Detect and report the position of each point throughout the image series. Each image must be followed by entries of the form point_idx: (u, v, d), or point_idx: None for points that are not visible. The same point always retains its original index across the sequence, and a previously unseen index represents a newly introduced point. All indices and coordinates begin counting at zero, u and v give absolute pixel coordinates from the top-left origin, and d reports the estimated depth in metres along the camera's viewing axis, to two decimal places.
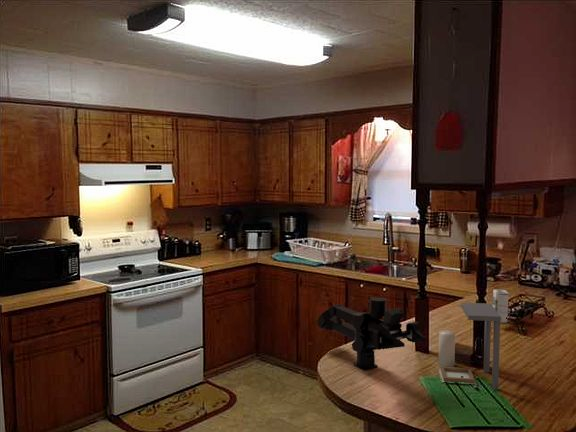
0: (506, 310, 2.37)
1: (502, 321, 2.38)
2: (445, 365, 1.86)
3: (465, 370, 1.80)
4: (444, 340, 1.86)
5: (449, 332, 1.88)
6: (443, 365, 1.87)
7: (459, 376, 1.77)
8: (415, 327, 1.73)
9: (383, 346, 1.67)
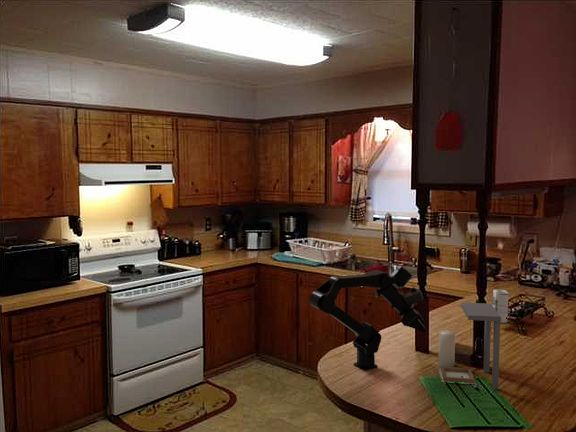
0: (506, 310, 2.37)
1: (502, 321, 2.38)
2: (445, 365, 1.86)
3: (465, 370, 1.80)
4: (443, 340, 1.86)
5: (449, 332, 1.88)
6: (443, 365, 1.87)
7: (459, 376, 1.77)
8: (416, 307, 1.94)
9: None
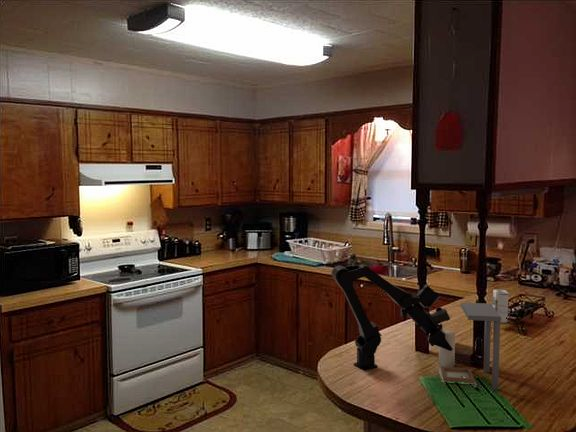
0: (506, 310, 2.37)
1: (502, 321, 2.38)
2: (445, 365, 1.86)
3: (465, 370, 1.80)
4: None
5: (449, 332, 1.88)
6: (443, 365, 1.87)
7: (459, 376, 1.77)
8: None
9: None
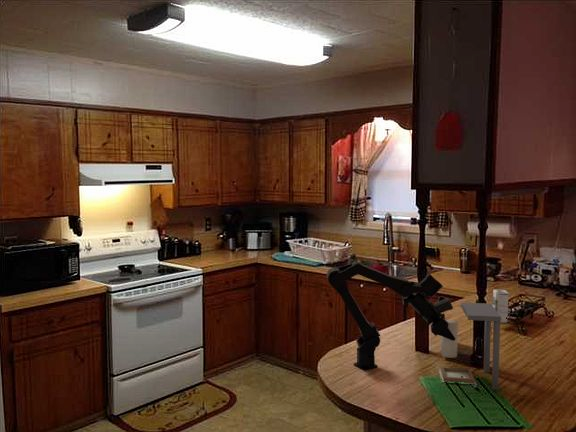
0: (506, 310, 2.37)
1: (502, 321, 2.38)
2: (448, 355, 1.83)
3: (465, 370, 1.80)
4: None
5: (452, 322, 1.84)
6: (446, 355, 1.83)
7: (459, 376, 1.77)
8: (444, 317, 1.89)
9: None
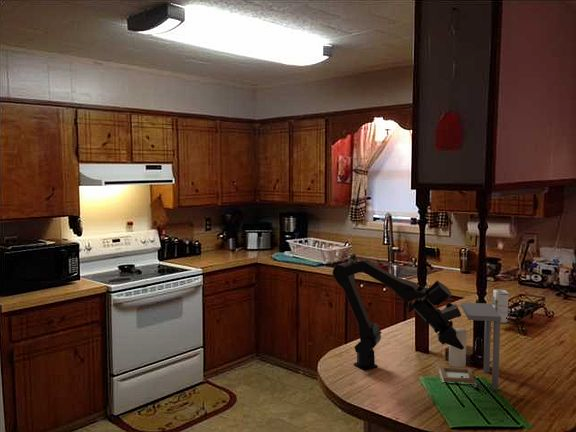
0: (506, 310, 2.37)
1: (502, 321, 2.38)
2: (456, 365, 1.74)
3: (465, 370, 1.80)
4: None
5: (460, 330, 1.75)
6: (454, 365, 1.74)
7: (459, 376, 1.77)
8: (452, 324, 1.80)
9: None
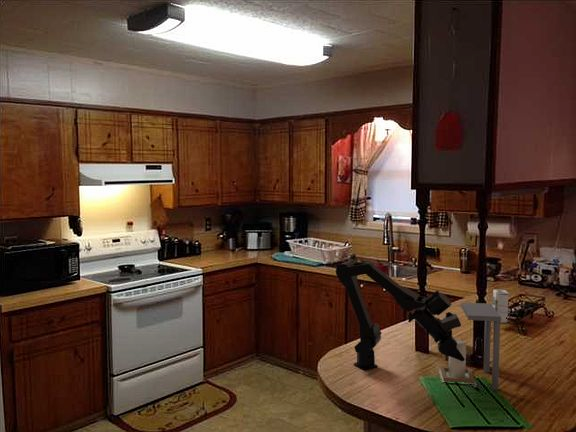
0: (506, 310, 2.37)
1: (502, 321, 2.38)
2: None
3: None
4: None
5: (460, 342, 1.76)
6: None
7: None
8: (451, 332, 1.82)
9: None
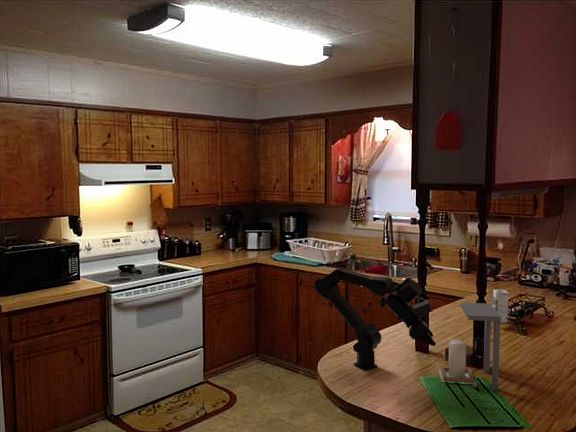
0: (506, 310, 2.37)
1: (502, 321, 2.38)
2: None
3: None
4: (454, 351, 1.74)
5: (460, 342, 1.76)
6: None
7: None
8: (424, 318, 1.83)
9: None
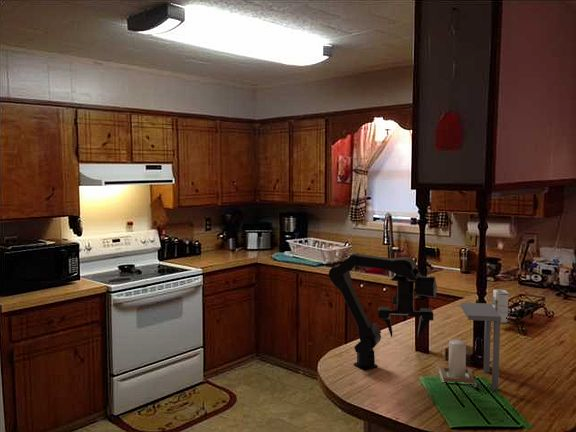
0: (506, 310, 2.37)
1: (502, 321, 2.38)
2: None
3: None
4: (454, 351, 1.74)
5: (460, 342, 1.76)
6: None
7: None
8: None
9: None
